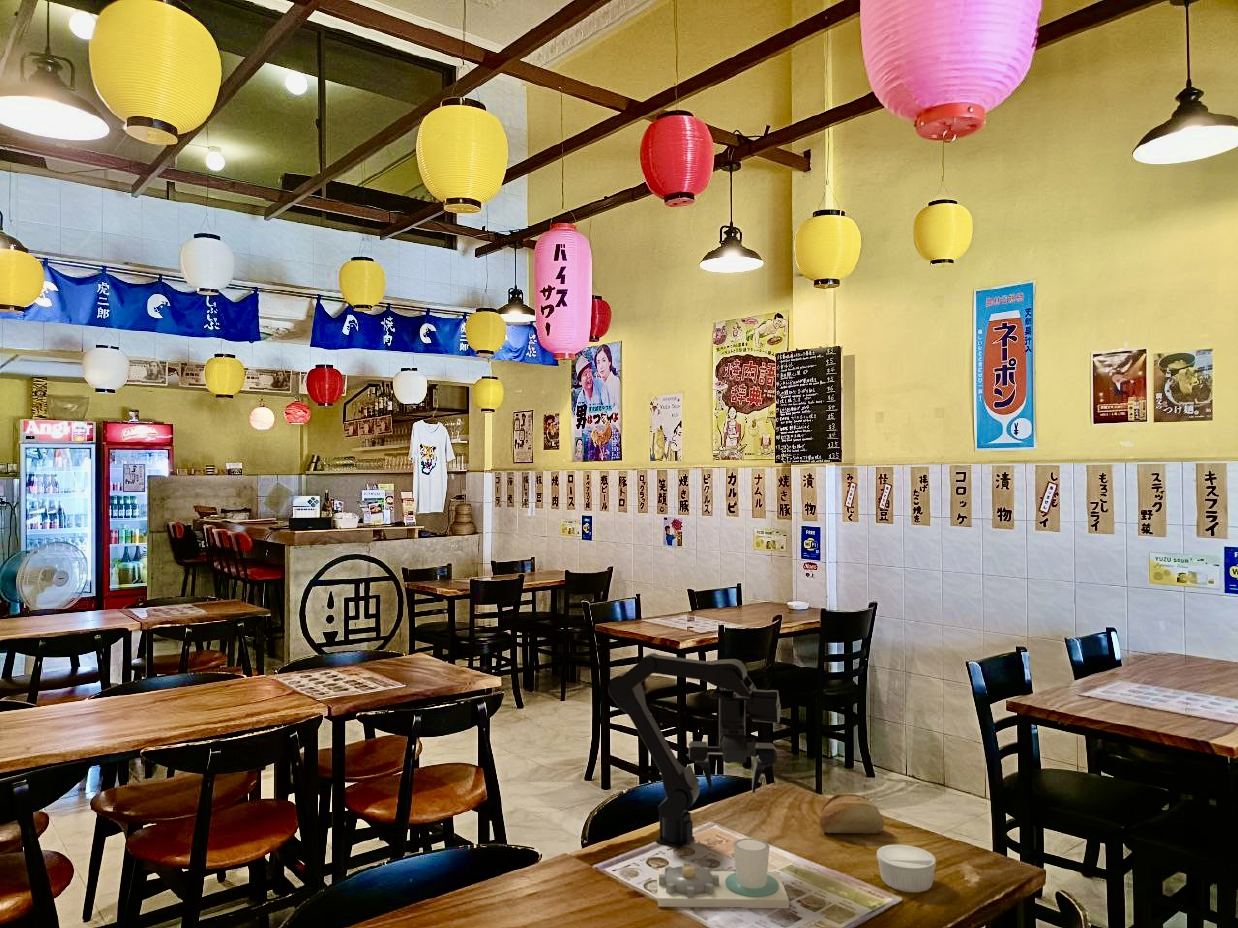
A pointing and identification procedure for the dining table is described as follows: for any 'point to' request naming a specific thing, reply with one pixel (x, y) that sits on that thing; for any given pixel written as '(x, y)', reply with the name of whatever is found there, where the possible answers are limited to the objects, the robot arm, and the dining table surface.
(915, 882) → the ramekin
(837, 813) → the bread roll
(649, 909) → the dining table surface
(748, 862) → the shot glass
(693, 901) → the gear board
